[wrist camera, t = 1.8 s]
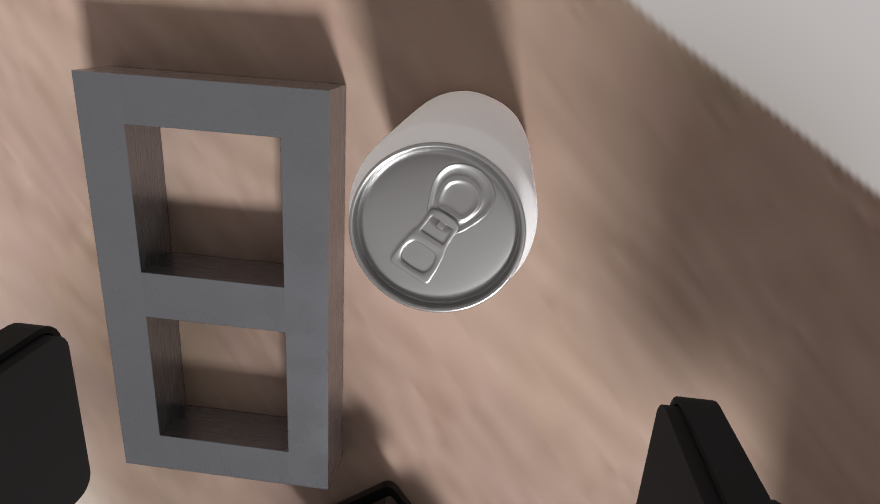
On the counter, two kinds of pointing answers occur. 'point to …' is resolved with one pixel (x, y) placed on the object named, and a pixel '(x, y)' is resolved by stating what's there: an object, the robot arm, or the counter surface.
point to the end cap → (379, 495)
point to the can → (445, 204)
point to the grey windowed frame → (218, 269)
